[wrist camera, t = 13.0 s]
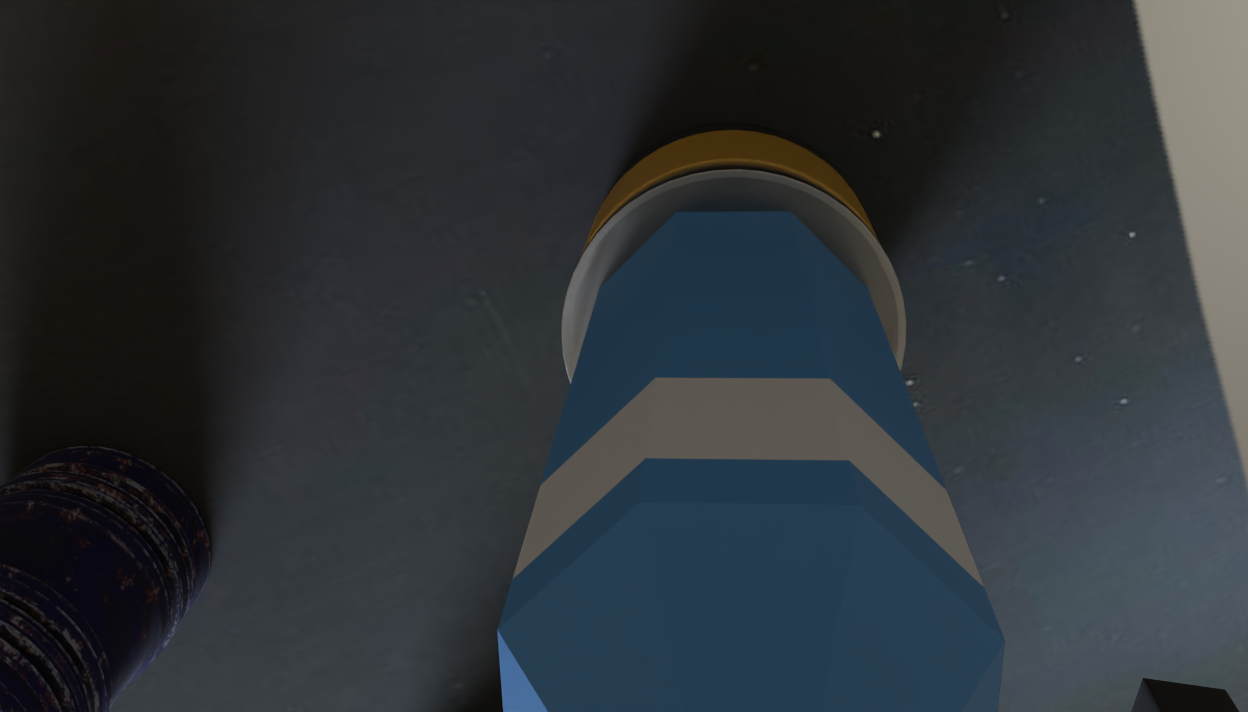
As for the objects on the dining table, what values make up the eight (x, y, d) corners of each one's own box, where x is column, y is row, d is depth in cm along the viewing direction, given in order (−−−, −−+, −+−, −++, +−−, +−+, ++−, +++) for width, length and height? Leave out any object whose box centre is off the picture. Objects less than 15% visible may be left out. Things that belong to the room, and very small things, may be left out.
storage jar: (96, 665, 57) (-105, 913, 43) (-44, 505, 54) (-306, 716, 40) (257, 576, 54) (99, 810, 41) (119, 405, 52) (-100, 592, 38)
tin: (681, 63, 45) (673, 101, 37) (930, 215, 46) (977, 285, 38) (537, 305, 49) (500, 389, 40) (771, 439, 50) (782, 547, 42)
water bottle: (803, 506, 41) (918, 1299, 18) (551, 409, 41) (327, 1100, 17) (926, 265, 38) (1263, 855, 15) (652, 155, 37) (545, 588, 14)
